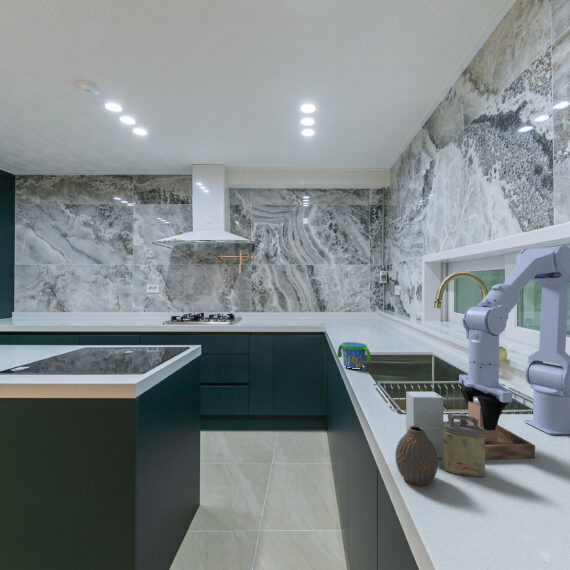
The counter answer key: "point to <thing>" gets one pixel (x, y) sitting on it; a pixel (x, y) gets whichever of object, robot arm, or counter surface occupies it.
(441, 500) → the counter surface
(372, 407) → the counter surface
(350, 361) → the snack cup
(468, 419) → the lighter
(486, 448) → the tray
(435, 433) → the skincare box
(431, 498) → the counter surface
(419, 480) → the vase
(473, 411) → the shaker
